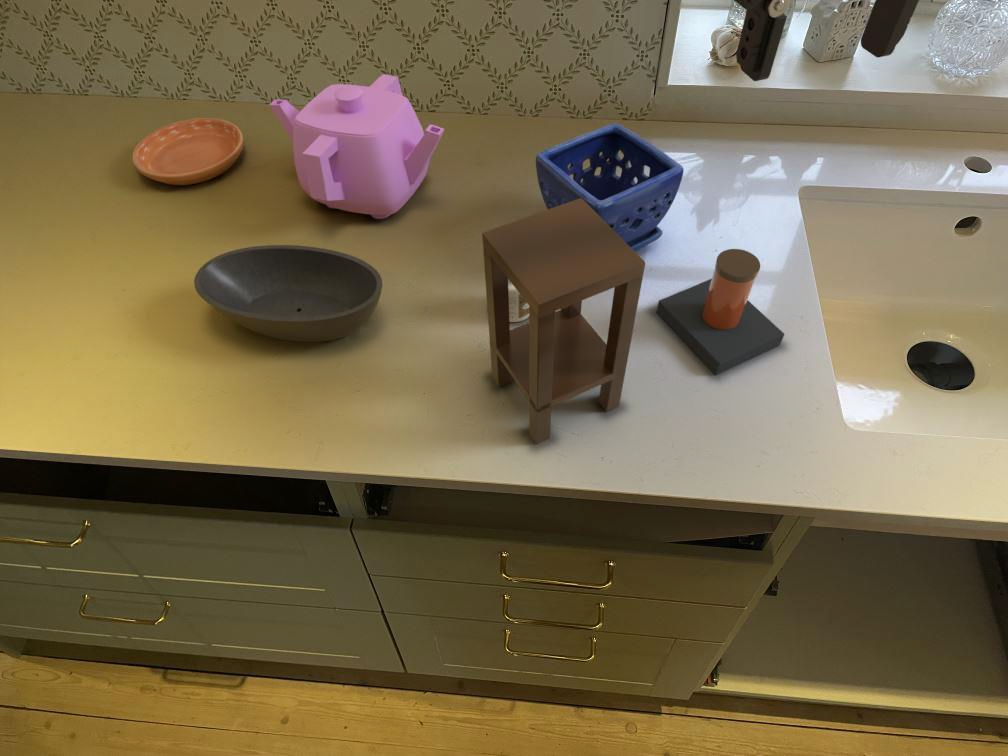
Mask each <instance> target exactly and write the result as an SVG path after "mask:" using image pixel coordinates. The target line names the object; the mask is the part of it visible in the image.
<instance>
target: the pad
mask: <svg viewBox="0 0 1008 756" xmlns="http://www.w3.org/2000/svg"><path fill="white" fill-rule="evenodd" d="M711 280H712V278H710V279H707V280H705V281H703V282H702V281H701V283H698V284H696V285H693V286H690V287H689V288H686V289H684V290H681V291H678V292H676V293H674V294H671V295H669V296H667V297H664V298H662V299H659V300H658V302H657V307H656V314H657V315H658V316H659V318H661V319H662V320H663V322H665V323H666V324H667V326H668V327H669V328H670V329H671V330H672V331H673V332H674V333H675V334H676V335H677V336H678V337H679V338H680V339H681V340H682V341H683V342H684V343H685V345H686V346H687V347H688V348H689V349H690V350H691V351H692V352H693V353H694V354H695V355H696V356H697V357H698V359H700V361H702V362H703V364H704V365H705V366H706V367H707V368H708V369H709V370H710V371H711V373H713V374H714V376H718V375H720V374H723V373H724V372H726V371H728V370H731V369H733V368H735V367H737V366H739V365H741V364H743V363H746V362H747V361H750V360H752V359H754V358H756V357H758V356H760V355H763V354H765V353H767V352H769V351H772V350H773V349H775V348H778V347H780V345H781V343H782V341H783V340H784V336H785V333H784V332H783V331H782V330H781V329H780V328H779V327H777V325H776V324H774V323H773V322H772V321H771V320H770V319H769V318H768V317H767V316H765V314H764V313H763V312H761V311H760V310H759V309H758V307H756V306H755V305H754V304H753V303H751V301H749V299H748V300H747V303H746V305H745V308H744V311H743V314H742V316H741V319H740V322H739V324H738V325H737V326H736V327H734V328H732V329H728V330H720V329H716V328H713V327H711V326H709V325H708V324H707V323H706V322H705V321H704V320H703V317H702V311H703V307H704V304H705V300H706V297H707V294H708V290H709V287H710V284H711Z"/></svg>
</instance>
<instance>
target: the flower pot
mask: <svg viewBox="0 0 1008 756" xmlns="http://www.w3.org/2000/svg"><path fill="white" fill-rule="evenodd" d="M619 152H621V153H622V155H623V157H622V158H621V157H620V156H619ZM600 154H601V155H600ZM587 160H588V161H589V166H588V167H586V168H584V162H585V161H587ZM629 163H630V164H629ZM618 167H619V168H620V169H621V174H620V176H619V175H617V168H618ZM645 167H648V168H649V174H648V175H646V173H645ZM535 168H536V176H537V182H538V186H539V190H540V194H541V197H542V200H543V202H544V204H545V207H546V210H548V209H551V208H554V207H557V206H560V205H563V204H566V203H568V202H571V201H574V200H577V199H580V198H582V199H583V200H584V201H585V202H586V203H587V204H588V205H589V206H590V207H591V208H592V209H593V210H594V211H595V212H596V213H597V214H598V215H599V216H600V217H601V218H602V219H603V220H604V221H605V222H606V223H607V224H608V225H609V226H610V227H611V228H612V229H613V230H614V231H615V232H616V233H617V234H618V235H619V236H620V237H621V238H622V239H623V240H624V241H625V242H626V243H627V244H628V245H629V246H630V247H631V248H632V249H633V250H634V251H635V252H636V251H637V250H640V249H642V248H644V247H646V246H648V245H650V244H652V243H654V242H655V241H657V240H658V239H660V237H662V235H663V230H662V229H661V228H660V227H658V225H659V224H660V223H661V222H662V221H663V219H664V218H665V217H666V215H667V213H668V212H669V210H670V208H671V206H672V205H673V203H674V201H675V200H676V196H677V194H678V192H679V189H680V186H681V183H682V181H683V176H684V167H683V166H682V164H680V163H679V162H677V160H675V159H673V158H672V157H670V156H669V155H668V154H666V153H665V152H664V151H663V150H661V149H659V148H658V147H657V146H655V145H653V144H652V143H651V142H649V141H648V140H646V139H644V138H643V137H641V136H639V135H638V134H637V133H635V132H633V131H632V130H630V129H629V128H627V127H625V126H623V125H621V124H619V123H615V122H614V123H610V124H608V125H604V126H602V127H598V128H597V129H593V130H591V131H588V132H586V133H582V134H580V135H578V136H576V137H573V138H571V139H569V140H566V141H564V142H561V143H558V144H556V145H554V146H551V147H548V148H546V149H544V150H542V151H540V152H539V153H537V154H536V156H535ZM598 168H600V173H599V174H595V173H596V171H597V169H598ZM571 175H572V177H570V176H571ZM635 178H636V180H637V181H636V182H635Z"/></svg>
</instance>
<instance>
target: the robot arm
mask: <svg viewBox="0 0 1008 756" xmlns="http://www.w3.org/2000/svg"><path fill="white" fill-rule="evenodd" d="M733 1H734V2H735V3H736V4H738V5H739V6H741V8H743V9H745V10H746V12H745V16H744V20H743V24H742V28H741V32H740V37H739V39H738V44H737V49H736V52H735V58H736V63H738V65H739V67H740V70H741V71H742V72H743V73H744V74H745V75H746V76H747V77H748V78H749V79H751V80H752V81H753V82H759V81H764V80H767V79H769V77H770V76H771V73H772V69H773V67H774V62H775V59H776V56H777V52H778V49H779V45H780V43H781V39H782V35H783V33H784V28H785V25H786V21H787V17H788V15H786V14H785V12H786V11H787V10H788V9H789V7H790V6H791V5H792V4H793V3H794V1H795V0H733ZM919 1H920V0H874V4H873V7H872V9H871V11H870V14H869V16H868V19H867V22H866V25H865V27H864V29H863V32H862V35H861V38H860V46H861V48H862V49H863V50H865V51H867V52H868V53H869V54H871V56H872V55H873V56H874V57H875V58H882V57H883V58H884V57H889V56H891V55H892V54H893V53H894V52H895V49H896V46H897V45H898V44H899V43H900V41H901V40H902V38H903V37H904V36H905V34H906V31H907V29H908V27H909V26H908V25H909V24H910V22H911V20H912V18H913V15H914V13H915V10H916V9H917V6H918V4H919Z"/></svg>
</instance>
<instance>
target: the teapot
mask: <svg viewBox="0 0 1008 756" xmlns="http://www.w3.org/2000/svg"><path fill="white" fill-rule="evenodd" d="M402 92H403V91H402V88H401V84H400V80H399V77H398V76H396V75H391V74H387V73H386V74H385V73H382V74H381V75H380V76H379V77H378V78H376V80H375V81H374V82H373V83H372V84H371V85H369V86H365V85H358V84H348V83H347V84H346V83H338V84H337V83H336V84H331V85H330V84H329V86H327V87H326V88H324V89H323V90H321V92H319V93H318V94H317V95H316V96H315V97H314V98H313V99H311V100H310V101H309V102H308V103H307V104H306V105H305V106H304V107H303V108H302V109H301V110H300V111H299V110H298V108H296V107H295V106H293V105H292V104H291V103H289V101H288V99H277V98H276V99H274V100H273V101H272V102H271V103H269V104H268V105H269V108H270V110H271V111H272V112H273V114H274V115H275V117H276V119H277V120H278V121H279V123H280V124H281V126H282V128H283V129H284V131H285V132H286V133H287V135H288V137H289V139H290V140H291V142H292V145H293V147H292V149H293V160H294V166H295V171H296V177H297V179H298V182H299V184H300V187H302V189H303V191H304V192H305V193H306V194H307V195H308V196H309V197H310V198H312V199H313V200H314V201H316V202H318V203H321V204H323V205H325V206H326V207H327V208H329V209H338V210H341V211H345V212H350V213H357V214H364V215H370V216H371V217H372V219H377V220H382V219H387V218H388V217H390V216H391V215H393V214H395V213H397V212H398V211H400V210H401V209H402V207H403V206H404V205H405V204H407V202H408V201H409V200H410V199H411V198H412V196H413V195H414V194H415V192H416V191H417V190H418V188H419V187H420V185H421V184H422V183H423V181H424V179H425V178H426V175H427V172H428V169H429V165H430V161H431V158H432V156H433V154H434V152H435V150H436V148H437V146H438V144H439V142H440V140H441V138H442V137H443V134H444V132H445V128H444V127H440V126H437V125H435V124H431V123H430V124H429V125H428V126H427V127H426V129H425V131H424V130H423V126H422V124H421V121H420V120H419V118H418V116H417V113H416V112H415V111H416V110H414V107H413V105H412V104H411V102H410V100H409V98H408V97H406V96H405V95H403V93H402Z"/></svg>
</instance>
